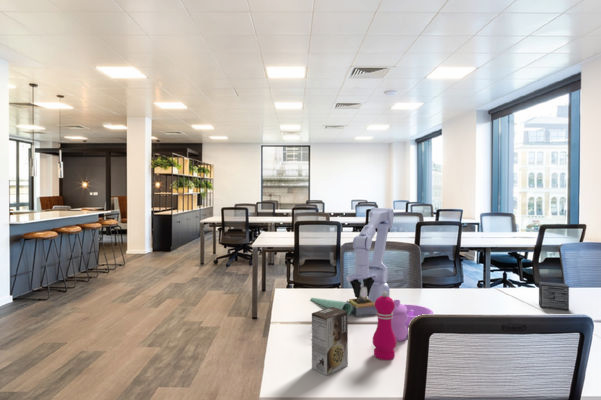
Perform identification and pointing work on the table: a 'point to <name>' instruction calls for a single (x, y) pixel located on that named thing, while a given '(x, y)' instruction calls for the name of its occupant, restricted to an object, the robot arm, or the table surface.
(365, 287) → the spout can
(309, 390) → the table surface
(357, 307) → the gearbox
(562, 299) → the small box
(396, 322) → the container set
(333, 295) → the table surface
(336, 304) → the mint green cylinder
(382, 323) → the pepper mill
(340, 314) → the grey cardboard box
